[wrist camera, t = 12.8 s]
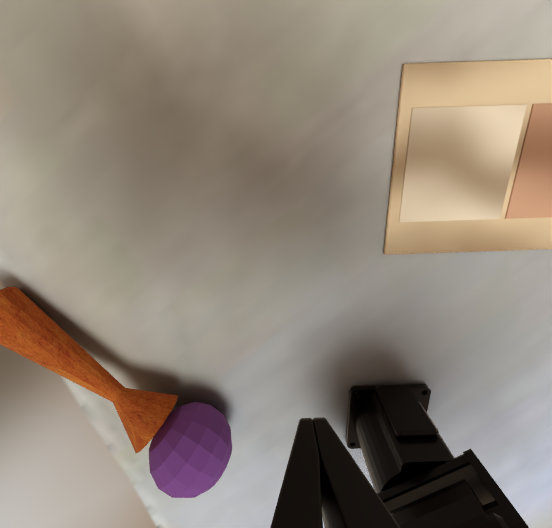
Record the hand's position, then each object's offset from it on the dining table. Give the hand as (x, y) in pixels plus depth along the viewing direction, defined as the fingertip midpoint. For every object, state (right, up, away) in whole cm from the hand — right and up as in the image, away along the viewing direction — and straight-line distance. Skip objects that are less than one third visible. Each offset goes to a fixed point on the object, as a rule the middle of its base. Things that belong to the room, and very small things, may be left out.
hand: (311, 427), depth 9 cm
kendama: (-13, -3, +13) cm, 19 cm away
